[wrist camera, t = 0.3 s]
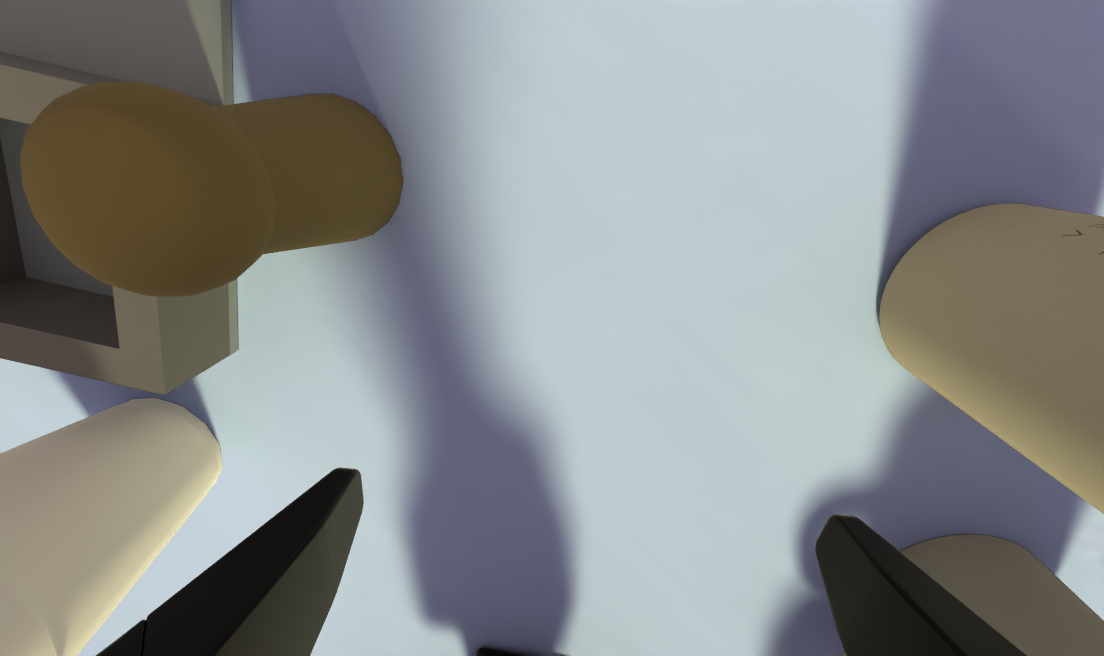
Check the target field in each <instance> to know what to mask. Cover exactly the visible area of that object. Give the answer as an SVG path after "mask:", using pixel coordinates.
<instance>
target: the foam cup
mask: <svg viewBox="0 0 1104 656" xmlns="http://www.w3.org/2000/svg"><path fill="white" fill-rule="evenodd" d="M222 467H223V463H222V457H221V451H220V445H219V443H218V442H217V440H216V439H215V437H214V436H213V434H212V433H211V431H210V430H209V428H208V427H207V425H206V424H205V423H204V422H203V421H201V420H200V419H199V418H197V417H196V416H195V415H193V414H192V413H191V412H189V411H188V410H187V409H185V408H184V407H183V406H180V405H177V404H174V403H170V402H167V401H164V400H161V399H158V398H145V399H131V400H130V401H128V402H126V403H125V404H119V405H116V406H114V407H111V408H109V409H107V410H104V411H102V412H99V413H97V414H95V415H92V416H90V417H87V418H85V419H83V420H80V421H78V422H75V423H73V424H71V425H68V426H66V427H63V428H61V429H59V430H56V431H54V432H51V433H49V434H47V435H44V436H42V437H39V438H37V439H35V440H32V441H30V442H27V443H25V444H23V445H20V446H18V447H15V448H13V449H11V450H8V451H6V452H3V453H1V454H0V656H77V655H78V653H79V652H80V651H81V650H82V648H83V647H84V646H85V645H86V643H87V642H88V641H89V640H90V638H91V637H92V636H93V635H94V634H95V632H96V631H97V630H98V629H99V627H100V626H101V625H102V624H103V622H104V621H105V620H106V619H107V617H108V616H109V615H110V614H111V612H112V611H113V610H114V609H115V607H116V606H117V605H118V604H119V602H120V601H121V600H122V599H123V598H124V596H125V595H126V594H127V593H128V591H129V590H130V589H131V588H132V586H133V585H134V584H135V583H136V581H137V580H138V579H139V578H140V576H141V575H142V574H143V573H144V571H145V570H146V569H147V568H148V566H149V565H150V564H151V563H152V562H153V560H154V559H155V558H156V557H157V555H158V554H159V553H160V552H161V550H162V549H163V548H164V547H165V545H166V544H167V543H168V542H169V540H170V539H171V538H172V537H173V535H174V534H175V533H176V532H177V530H178V529H179V528H180V527H181V526H182V524H183V523H184V522H185V521H186V519H187V518H188V517H189V516H190V514H191V513H192V512H193V511H194V509H195V508H196V507H197V506H198V504H199V503H200V502H201V501H202V499H203V498H204V497H205V496H206V494H207V493H208V492H209V490H210V488H211V487H212V486H213V485H214V484H215V483H216V480H217V478H218V476H219V474H220V472H221V469H222Z"/></svg>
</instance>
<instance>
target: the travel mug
mask: <svg viewBox="0 0 1104 656" xmlns="http://www.w3.org/2000/svg"><path fill="white" fill-rule="evenodd" d="M879 318H880V329H881V334H882V337H883V340H884V343H885V345H886V347H887V349H888V350H889V352H890V354H891V355H892V356H893V358H894V359H895V360H896V361H897V362H898V363H899V364H900V365H901V366H903V367H904V368H905V369H907V370H908V371H909V372H911V373H912V374H913V375H915V376H916V377H917V378H919V379H920V380H922V381H923V382H924V383H926V384H927V385H928V386H930V387H931V388H932V389H934V390H935V391H937V392H938V393H939V394H941V395H942V396H943V397H945V398H946V399H947V400H949V401H950V402H952V403H953V404H954V405H956V406H957V407H958V408H960V409H961V410H962V411H964V412H965V413H967V414H968V415H969V416H971V417H972V418H973V419H975V420H976V421H977V422H979V423H980V424H982V425H983V426H984V427H986V428H987V429H988V430H990V431H991V432H992V433H994V434H995V435H996V436H998V437H999V438H1001V439H1002V440H1003V441H1005V442H1006V443H1007V444H1009V445H1010V446H1011V447H1013V448H1014V449H1016V450H1017V451H1018V452H1020V453H1021V454H1022V455H1024V456H1025V457H1026V458H1028V459H1029V460H1031V461H1032V462H1033V463H1035V464H1036V465H1037V466H1039V467H1040V468H1041V469H1043V470H1044V471H1046V472H1047V473H1048V474H1050V475H1051V476H1052V477H1054V478H1055V479H1056V480H1058V481H1059V482H1061V483H1062V484H1063V485H1065V486H1066V487H1067V488H1069V489H1070V490H1071V491H1073V492H1074V493H1076V494H1077V495H1078V496H1080V497H1081V498H1082V499H1084V500H1085V501H1086V502H1088V503H1089V504H1091V505H1092V506H1093V507H1095V508H1096V509H1097V510H1099V511H1100V512H1101V513H1103V514H1104V217H1102V216H1096V215H1089V214H1083V213H1077V212H1070V211H1064V210H1058V209H1051V208H1045V207H1039V206H1032V205H1026V204H1016V203H1004V204H994V205H988V206H983V207H979V208H975V209H972V210H969V211H966V212H964V213H961V214H959V215H956V216H954V217H952V218H950V219H948V220H946V221H945V222H943V223H941V224H940V225H938V226H936V227H935V228H933V229H932V230H931V231H929V232H928V233H927V234H925V235H924V236H923V237H922V238H920V239H919V240H918V241H917V242H916V243H915V244H914V245H913V246H912V247H911V248H910V249H909V250H908V251H907V252H906V254H905V255H904V256H903V257H902V259H901V260H900V261H899V263H898V264H897V266H896V267H895V269H894V270H893V272H892V274H891V276H890V278H889V280H888V282H887V284H886V287H885V289H884V292H883V296H882V299H881V305H880V314H879Z"/></svg>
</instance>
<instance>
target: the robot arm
mask: <svg viewBox="0 0 1104 656" xmlns="http://www.w3.org/2000/svg"><path fill="white" fill-rule="evenodd" d="M362 509H363V491H362V482H361V474H360V472H359V471H358V470H356V469H349V468H336V469H334V470H333V471H331V472H330V473H329V474H328V475H326V476H325V477H324V478H322V479H321V480H320V481H319V482H317V483H316V484H315V485H313V486H312V487H311V488H310V489H308V490H307V491H306V492H305V493H303V494H302V495H301V496H299V497H298V498H297V499H296V500H294V501H293V502H292V503H291V504H289V505H288V506H287V507H285V508H284V509H283V510H282V511H280V512H279V513H278V514H277V515H275V516H274V517H273V518H271V519H270V520H269V521H268V522H266V523H265V524H264V525H263V526H261V527H260V528H259V529H257V530H256V531H255V532H254V533H252V534H251V535H250V536H249V537H247V538H246V539H245V540H243V541H242V542H241V543H240V544H238V545H237V546H236V547H235V548H233V549H232V550H231V551H229V552H228V553H227V554H226V555H224V556H223V557H222V558H221V559H219V560H218V561H217V562H215V563H214V564H213V565H212V566H210V567H209V568H208V569H207V570H205V571H204V572H203V573H201V574H200V575H199V576H198V577H196V578H195V579H194V580H193V581H191V582H190V583H189V584H187V585H186V586H185V587H184V588H182V589H181V590H180V591H178V592H177V593H176V594H175V595H173V596H172V597H171V598H170V599H168V600H167V601H166V602H164V603H163V604H162V605H161V606H159V607H158V608H157V609H156V610H154V611H153V612H152V613H150V614H149V615H148V617H147V621H146V620H141V621H140V622H139V623H137V624H136V625H135V626H134V627H132V628H131V629H130V630H129V631H127V632H126V633H125V634H123V635H122V636H121V637H120V638H118V639H117V640H116V641H114V642H113V643H112V644H111V645H109V646H108V647H107V648H105V649H104V650H103V651H101V652H100V653H99V654H97V655H96V656H310V654H311V652H312V649H313V647H314V645H315V643H316V640H317V638H318V636H319V633H320V631H321V629H322V626H323V624H324V622H325V619H326V617H327V615H328V612H329V610H330V608H331V605H332V603H333V600H334V598H335V595H336V593H337V590H338V587H339V584H340V581H341V578H342V574H343V571H344V568H345V565H346V562H347V558H348V555H349V552H350V549H351V546H352V542H353V539H354V536H355V533H356V530H357V526H358V523H359V520H360V517H361V514H362ZM815 550H816V556H817V560H818V563H819V567H820V571H821V574H822V578H823V581H824V585H825V588H826V592H827V596H828V599H829V603H830V606H831V610H832V613H833V617H834V621H835V624H836V627H837V630H838V634H839V637H840V640H841V642H842V645H843V648H844V651H845V653H846V656H1027V655H1026V654H1025V653H1023V652H1022V651H1021V650H1020V649H1019V648H1017V647H1016V646H1015V645H1014V644H1012V643H1011V642H1010V641H1009V640H1008V639H1006V638H1005V637H1004V636H1003V635H1001V634H1000V633H999V632H998V631H996V630H995V629H994V628H993V627H992V626H990V625H989V624H988V623H987V622H985V621H984V620H983V619H982V618H980V617H979V616H978V615H977V614H976V613H974V612H973V611H972V610H971V609H969V608H968V607H967V606H966V605H965V604H963V603H962V602H961V601H960V600H958V599H957V598H956V597H955V596H953V595H952V594H951V593H950V592H949V591H947V590H946V589H945V588H944V587H942V586H941V585H940V584H939V583H937V582H936V581H935V580H934V579H933V578H931V577H930V576H929V575H928V574H926V573H925V572H924V571H923V570H921V569H920V568H919V567H918V566H917V565H915V564H914V563H913V562H912V561H910V560H909V559H908V558H907V557H906V556H904V555H903V554H902V553H901V552H899V551H898V550H897V549H896V548H894V547H893V546H892V545H891V544H890V543H888V542H887V541H886V540H885V539H883V538H882V537H881V536H880V535H878V534H877V533H876V532H875V531H874V530H872V529H871V528H870V527H869V526H867V525H866V524H865V523H864V522H863V521H861V520H860V519H859V518H857V517H855V516H851V515H841V514H834V515H832V516H830V518H829V519H828V521H827V523H826V524H825V526H824V528H823V530H822V532H821V533H820V535H819V537H818V539H817V541H816V547H815ZM476 656H519V655H514V654H509V653H505V652H500V651H496V650H491V649H486V648H481V649H479V650H477V652H476Z"/></svg>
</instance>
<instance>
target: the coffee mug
mask: <svg viewBox="0 0 1104 656" xmlns="http://www.w3.org/2000/svg"><path fill="white" fill-rule="evenodd" d="M900 552H901V553H902V554H903V555H904V556H906V557H907V558H908V559H909V560H910V561H912V562H913V563H914V564H915V565H917V566H918V567H919V568H920V569H921V570H923V571H924V572H925V573H926V574H928V575H929V576H930V577H931V578H933V579H934V580H935V581H936V582H937V583H939V584H940V585H941V586H942V587H944V588H945V589H946V590H947V591H949V592H950V593H951V594H952V595H953V596H955V597H956V598H957V599H958V600H960V601H961V602H962V603H963V604H965V605H966V606H967V607H968V608H969V609H971V610H972V611H973V612H974V613H976V614H977V615H978V616H979V617H980V618H982V619H983V620H984V621H985V622H987V623H988V624H989V625H990V626H992V627H993V628H994V629H995V630H996V631H998V632H999V633H1000V634H1001V635H1003V636H1004V637H1005V638H1006V639H1008V640H1009V641H1010V642H1011V643H1012V644H1014V645H1015V646H1016V647H1017V648H1019V649H1020V650H1021V651H1022V652H1023V653H1025V654H1026V655H1027V656H1104V621H1103V620H1102V619H1101V618H1100V617H1099V616H1098V615H1097V614H1096V613H1095V612H1094V611H1093V610H1092V609H1091V608H1089V607H1088V606H1087V605H1086V604H1085V603H1084V602H1083V601H1082V600H1081V599H1080V598H1079V597H1078V596H1077V595H1076V594H1075V593H1074V592H1072V591H1071V590H1070V589H1069V588H1068V587H1067V586H1066V585H1065V584H1064V583H1063V582H1062V581H1061V580H1060V579H1059V578H1058V577H1057V576H1055V575H1054V574H1053V573H1052V572H1051V571H1050V570H1049V569H1048V568H1047V567H1046V566H1045V565H1044V564H1043V563H1042V562H1041V561H1039V560H1038V559H1037V558H1036V557H1035V556H1034V555H1033V554H1032V553H1031V552H1029V551H1028V550H1027V549H1025V548H1024V547H1022V546H1020V545H1018V544H1016V543H1014V542H1011V541H1008V540H1005V539H1002V538H998V537H994V536H988V535H976V534H960V535H951V536H944V537H939V538H935V539H931V540H927V541H924V542H921V543H918V544H916V545H913V546H911V547H908V548H906V549H903V550H902V551H900ZM839 656H846V653H843V654H841V655H839Z"/></svg>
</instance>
